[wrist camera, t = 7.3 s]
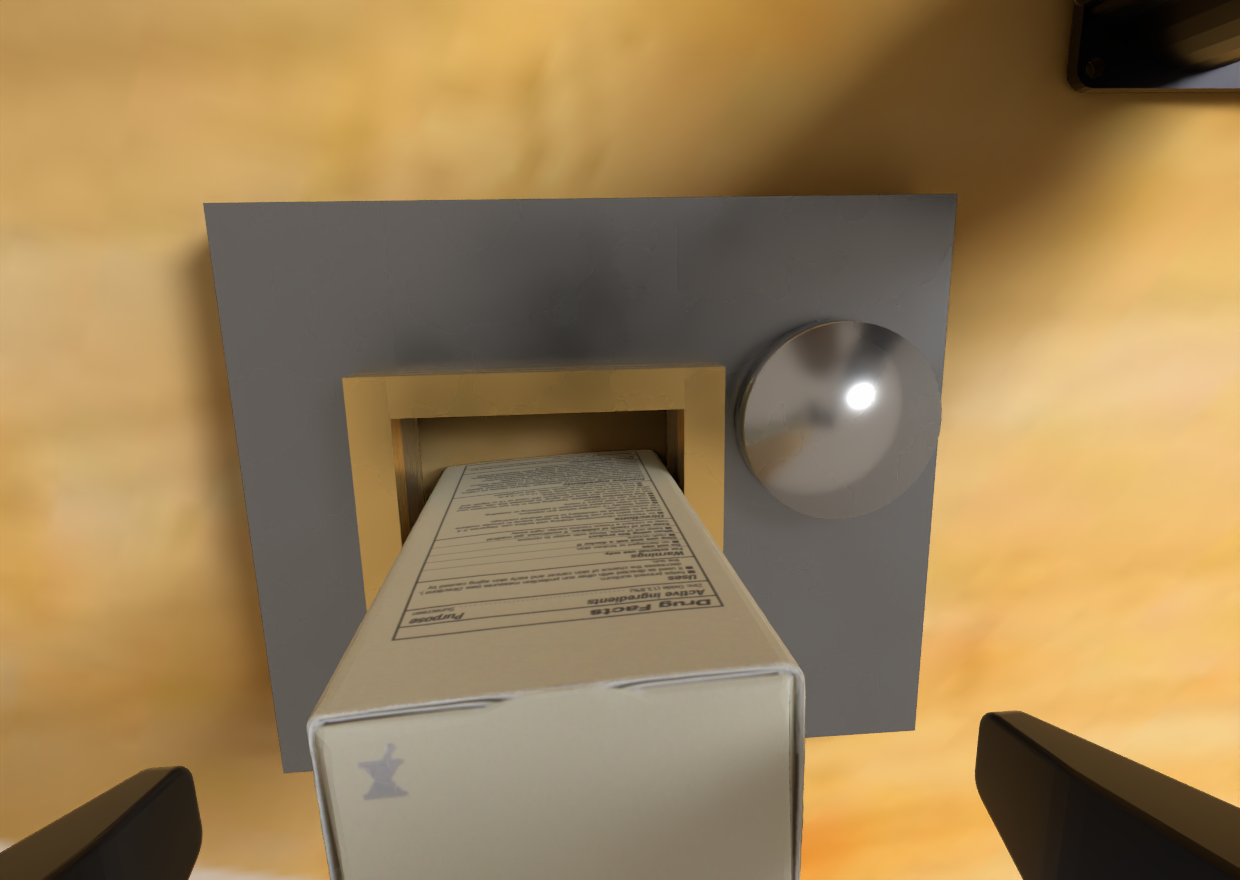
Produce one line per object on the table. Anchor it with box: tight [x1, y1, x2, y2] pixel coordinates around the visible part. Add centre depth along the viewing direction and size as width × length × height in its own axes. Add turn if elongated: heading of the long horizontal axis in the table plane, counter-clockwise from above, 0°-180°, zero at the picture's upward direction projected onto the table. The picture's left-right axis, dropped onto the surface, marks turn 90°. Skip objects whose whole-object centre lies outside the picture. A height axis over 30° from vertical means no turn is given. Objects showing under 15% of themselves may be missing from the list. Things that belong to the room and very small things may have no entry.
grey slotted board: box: [203, 194, 957, 773], centre depth 19 cm, size 18×15×3 cm
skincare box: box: [307, 450, 805, 880], centre depth 15 cm, size 6×4×12 cm
